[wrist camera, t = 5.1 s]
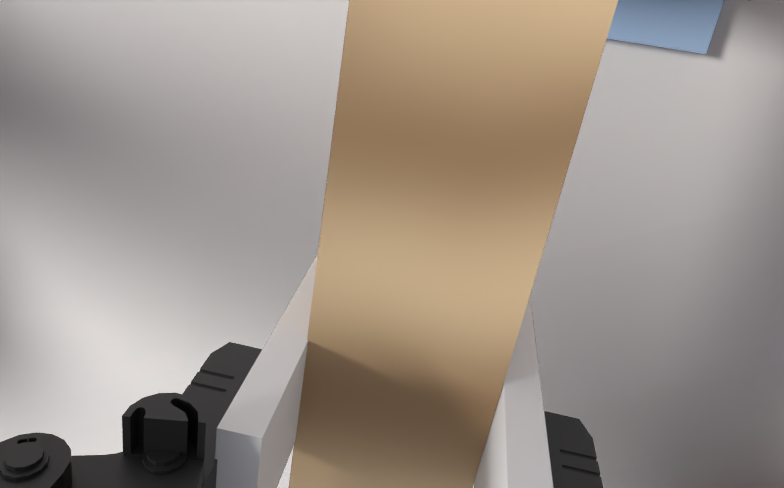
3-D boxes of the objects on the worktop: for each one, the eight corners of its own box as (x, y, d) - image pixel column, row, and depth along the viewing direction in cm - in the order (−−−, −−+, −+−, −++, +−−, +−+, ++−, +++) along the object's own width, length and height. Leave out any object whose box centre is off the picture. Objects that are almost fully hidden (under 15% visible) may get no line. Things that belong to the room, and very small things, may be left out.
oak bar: (412, 593, 23) (393, 751, 18) (305, 567, 23) (259, 716, 18) (625, -199, 12) (703, -289, 8) (426, -232, 13) (391, -337, 8)
